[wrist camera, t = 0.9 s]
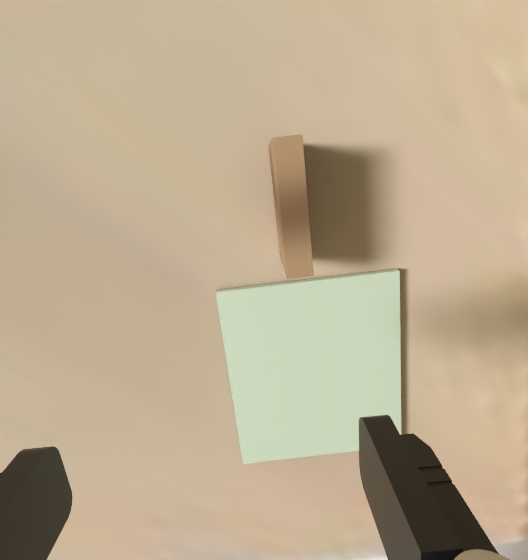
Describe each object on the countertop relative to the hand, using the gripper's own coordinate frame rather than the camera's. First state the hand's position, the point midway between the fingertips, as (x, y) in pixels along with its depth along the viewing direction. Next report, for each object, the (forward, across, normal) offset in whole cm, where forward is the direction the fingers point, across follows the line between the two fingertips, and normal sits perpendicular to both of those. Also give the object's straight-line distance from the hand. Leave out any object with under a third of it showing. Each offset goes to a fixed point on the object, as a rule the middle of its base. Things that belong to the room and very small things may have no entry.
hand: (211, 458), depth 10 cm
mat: (+19, -5, +9) cm, 22 cm away
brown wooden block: (+19, -4, -4) cm, 20 cm away
